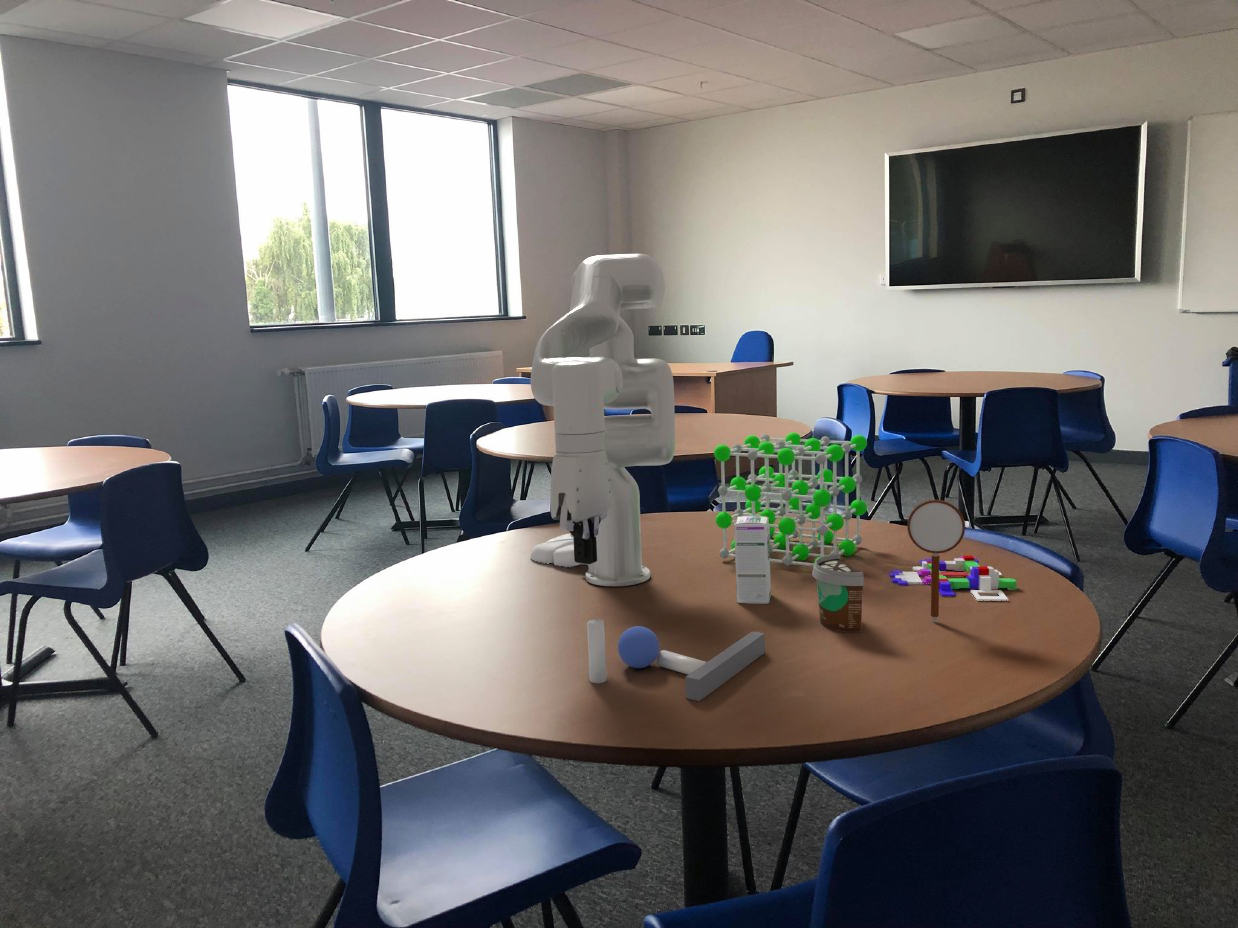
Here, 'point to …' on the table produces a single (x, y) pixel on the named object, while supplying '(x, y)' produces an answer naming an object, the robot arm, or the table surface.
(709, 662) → the stopper wall
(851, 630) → the food container
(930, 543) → the magnifying glass
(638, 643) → the ball
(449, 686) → the table surface
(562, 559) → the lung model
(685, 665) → the white pin
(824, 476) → the molecular structure model
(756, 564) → the syrup box
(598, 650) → the grey pin
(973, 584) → the building block set
